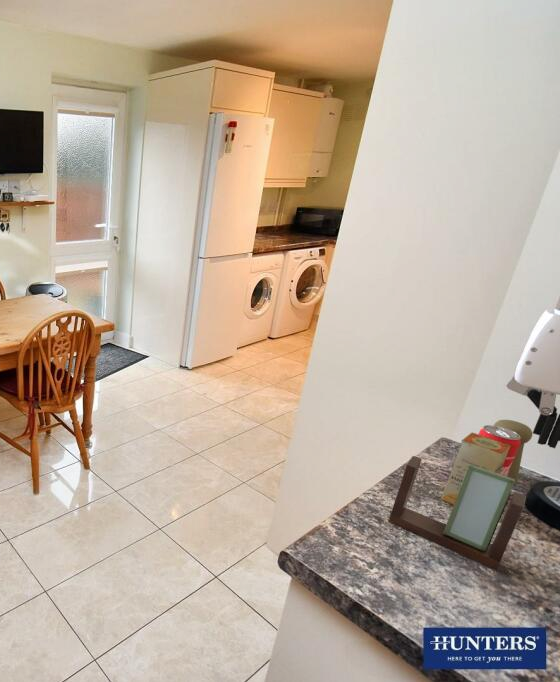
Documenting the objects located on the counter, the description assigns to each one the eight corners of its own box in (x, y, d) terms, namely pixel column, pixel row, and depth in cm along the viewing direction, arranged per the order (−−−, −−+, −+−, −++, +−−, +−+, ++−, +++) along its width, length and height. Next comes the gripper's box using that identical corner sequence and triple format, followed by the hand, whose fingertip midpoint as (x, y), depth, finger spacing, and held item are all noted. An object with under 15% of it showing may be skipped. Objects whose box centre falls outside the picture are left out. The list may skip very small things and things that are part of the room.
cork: (524, 478, 85) (545, 428, 81) (506, 485, 83) (527, 434, 79) (485, 461, 90) (503, 413, 87) (467, 467, 88) (486, 418, 85)
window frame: (388, 521, 73) (406, 464, 70) (394, 511, 76) (412, 455, 72) (496, 570, 64) (523, 507, 60) (499, 556, 66) (526, 495, 63)
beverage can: (487, 483, 83) (509, 427, 80) (505, 500, 79) (530, 441, 75) (454, 478, 85) (474, 422, 81) (470, 495, 80) (493, 437, 76)
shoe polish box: (486, 505, 78) (510, 445, 74) (477, 515, 75) (501, 454, 71) (450, 489, 81) (471, 432, 78) (440, 499, 79) (462, 440, 75)
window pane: (443, 533, 68) (468, 465, 64) (444, 531, 69) (469, 463, 65) (485, 551, 65) (515, 481, 61) (485, 549, 65) (515, 479, 61)
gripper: (708, 315, 49) (636, 457, 55) (519, 291, 60) (475, 413, 66) (720, 327, 45) (639, 481, 51) (512, 299, 55) (466, 429, 61)
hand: (546, 442), depth 58 cm, fingers closed
